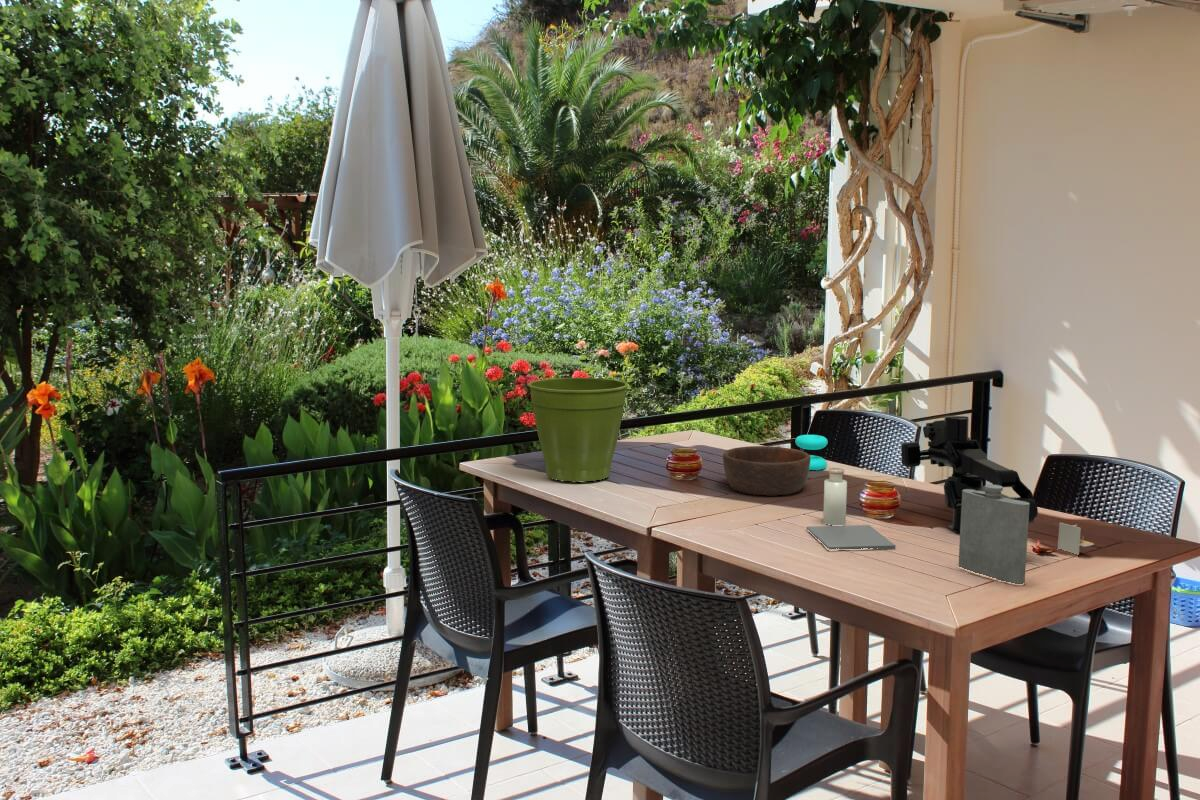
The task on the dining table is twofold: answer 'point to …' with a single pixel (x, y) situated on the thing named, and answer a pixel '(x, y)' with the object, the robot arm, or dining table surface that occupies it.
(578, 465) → the plant pot
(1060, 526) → the pale grey angular piece
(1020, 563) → the hip flask
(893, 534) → the dining table surface
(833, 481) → the corked frosted bottle
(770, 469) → the wooden bowl
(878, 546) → the charcoal tile board
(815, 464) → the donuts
